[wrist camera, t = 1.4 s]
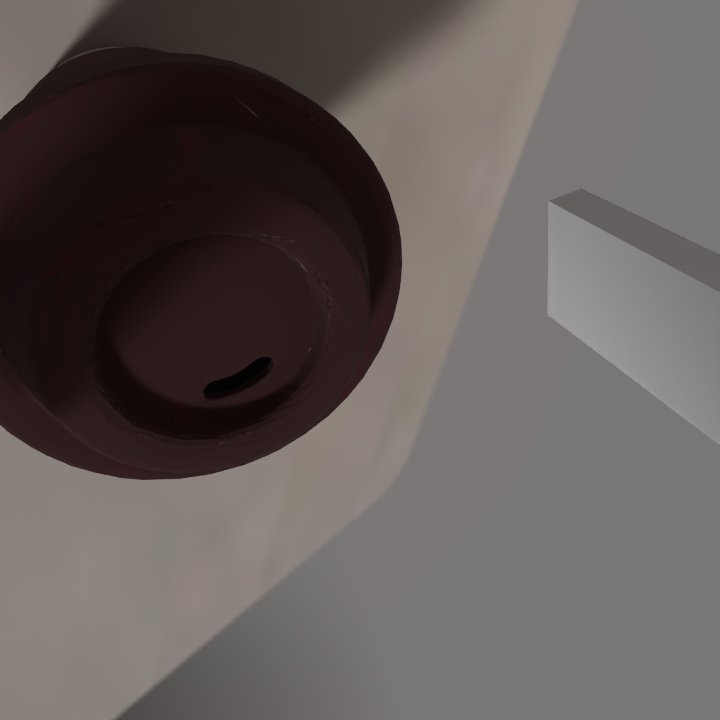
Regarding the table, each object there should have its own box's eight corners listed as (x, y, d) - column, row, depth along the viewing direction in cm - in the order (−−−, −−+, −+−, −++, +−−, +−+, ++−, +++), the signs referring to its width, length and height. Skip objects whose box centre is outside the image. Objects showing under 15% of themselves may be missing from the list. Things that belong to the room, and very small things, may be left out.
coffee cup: (-24, -41, 19) (-107, -2, 8) (278, 43, 24) (500, 143, 12) (-18, 256, 23) (-66, 556, 12) (234, 277, 28) (369, 507, 17)
